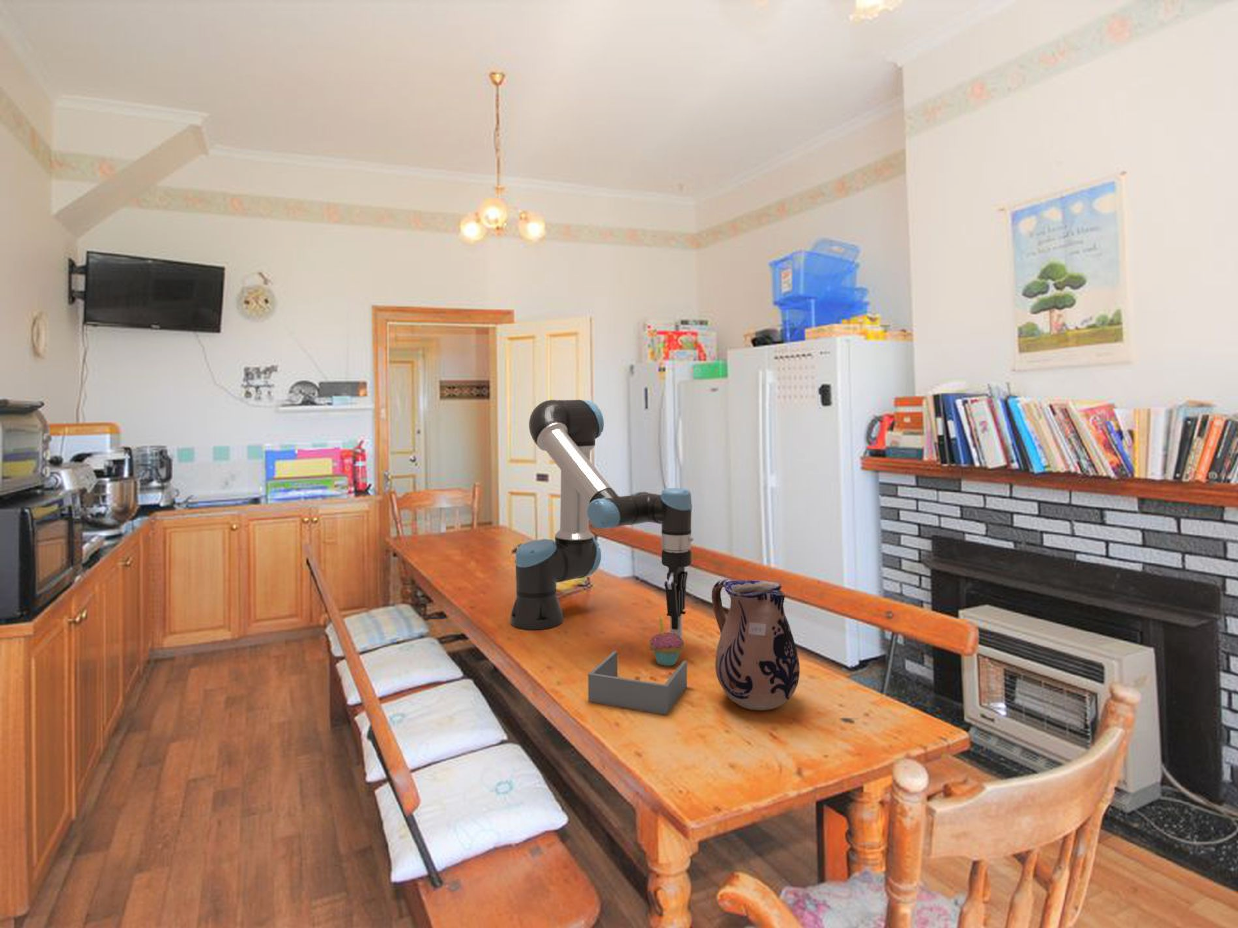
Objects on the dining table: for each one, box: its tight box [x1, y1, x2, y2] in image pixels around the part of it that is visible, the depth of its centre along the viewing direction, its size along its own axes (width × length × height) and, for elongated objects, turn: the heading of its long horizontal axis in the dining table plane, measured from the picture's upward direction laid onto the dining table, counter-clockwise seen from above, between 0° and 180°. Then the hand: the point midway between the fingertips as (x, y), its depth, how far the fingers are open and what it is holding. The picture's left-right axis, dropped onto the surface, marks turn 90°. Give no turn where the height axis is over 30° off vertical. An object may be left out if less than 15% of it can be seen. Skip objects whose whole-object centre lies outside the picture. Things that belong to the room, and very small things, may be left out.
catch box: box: [587, 650, 688, 716], centre depth 147 cm, size 18×15×6 cm
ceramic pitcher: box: [711, 578, 801, 711], centre depth 143 cm, size 18×21×25 cm
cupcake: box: [649, 615, 685, 667], centre depth 165 cm, size 9×8×12 cm
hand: (676, 639), depth 173 cm, fingers closed
